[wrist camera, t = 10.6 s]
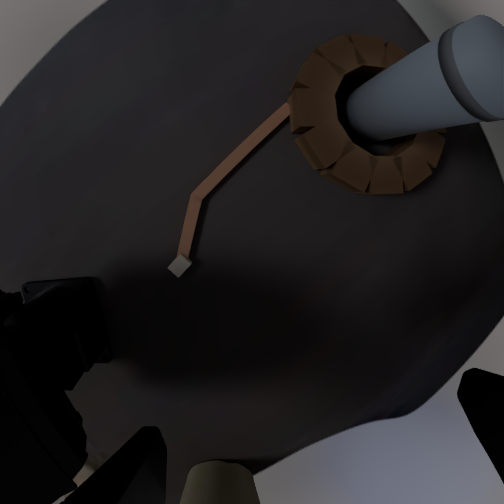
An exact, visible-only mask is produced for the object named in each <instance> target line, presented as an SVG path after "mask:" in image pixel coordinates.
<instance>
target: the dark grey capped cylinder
mask: <svg viewBox="0 0 504 504" xmlns="http://www.w3.org/2000/svg"><path fill="white" fill-rule="evenodd" d="M338 116H339V121H340V124H341V126H342V127H343V129H344V130H345V132H346V133H347V135H348V136H349V137H351V138H352V139H353V140H355V141H357V142H360V143H366V144H368V143H374V142H378V141H383V140H387V139H392V138H396V137H401V136H406V135H410V134H415V133H420V132H425V131H430V130H435V129H441V128H446V127H452V126H457V125H463V124H469V123H476V122H482V121H485V122H491V121H499V120H504V27H503V26H502V25H501V24H500V23H498V22H497V21H495V20H494V19H492V18H490V17H488V16H484V15H477V16H475V17H473V18H471V19H469V20H468V21H466V22H461V23H459V24H457V25H455V26H453V27H452V28H450V29H448V30H447V31H445V32H444V33H443V34H442V35H441V36H439V37H437V38H436V39H434V40H432V41H430V42H429V43H427V44H425V45H424V46H422V47H420V48H419V49H417V50H415V51H414V52H412V53H411V54H409V55H407V56H406V57H404V58H403V59H401V60H399V61H398V62H396V63H395V64H393V65H391V66H390V67H388V68H387V69H385V70H384V71H382V72H381V73H379V74H378V75H376V76H375V77H373V78H372V79H370V80H369V81H367V82H366V83H364V84H363V85H361V86H360V87H358V88H357V89H355V90H354V91H352V92H351V93H349V94H348V95H346V96H345V97H344V98H343V100H342V101H341V103H340V105H339V110H338Z"/></svg>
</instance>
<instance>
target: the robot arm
mask: <svg viewBox="0 0 504 504" xmlns="http://www.w3.org/2000/svg"><path fill="white" fill-rule="evenodd" d="M84 282H85V283H87V284H88V288H87V287H85V285H84ZM27 288H28V289H29V291H28V290H27ZM22 292H23V296H24V299H25V303H24V304H23V298H22V295H21V292H20V291H19V292H15V293H12V294H11V292H10V293H5V292H3V291H2V290H0V504H52V503H53V502H55V501H56V500H57V499H59V498H60V497H61V496H63V495H65V494H67V493H69V492H71V491H73V490H75V489H76V488H77V484H76V483H75V482H74V481H73V480H72V479H74V477H75V476H76V475H77V474H78V472H79V471H80V470H81V469H82V467H83V466H84V464H85V461H86V459H87V457H88V453H87V452H86V451H85V450H86V439H87V436H86V434H85V431H84V429H83V427H82V421H83V419H82V417H81V415H80V414H79V412H78V411H76V410H75V408H74V407H73V405H72V403H71V402H70V400H69V398H68V397H67V395H66V393H65V391H64V390H70V391H71V390H73V388H74V387H75V385H76V384H77V382H78V381H79V379H80V378H81V376H82V375H83V373H84V372H88V371H89V370H90V369H91V367H92V366H93V364H94V363H109V362H110V361H111V360H112V357H113V356H112V352H111V349H110V345H109V341H110V339H109V335H108V332H107V328H106V324H105V321H104V317H103V313H102V309H101V308H100V307H99V305H98V301H97V297H96V292H95V288H94V284H93V281H92V280H91V279H90V278H88V277H82V278H70V279H59V280H47V281H35V282H27V283H25V284H23V286H22ZM104 355H106V356H107V357H108V358H106V357H105V356H104ZM457 396H458V399H459V401H460V403H461V405H462V407H463V409H464V412H465V414H466V416H467V418H468V420H469V422H470V424H471V426H472V428H473V430H474V432H475V434H476V436H477V438H478V439H479V441H480V443H481V444H482V446H483V448H484V449H485V451H486V453H487V454H488V456H489V458H490V460H491V461H492V463H493V465H494V467H495V469H496V470H497V472H498V474H499V476H500V477H501V480H502V481H503V483H504V376H501V375H498V374H494V373H491V372H488V371H484V370H481V369H478V368H472V369H469V370H467V371H465V372H464V373H463V375H462V378H461V381H460V385H459V388H458V391H457ZM166 469H167V448H166V444H165V442H164V439H163V437H162V434H161V432H160V430H159V428H158V427H155V426H144V427H142V428H141V429H140V430H139V431H138V432H137V433H136V434H135V435H134V436H133V437H131V438H130V439H129V440H128V441H127V442H126V443H125V444H124V445H123V446H122V447H121V448H120V449H119V450H118V451H117V452H116V453H115V454H114V455H113V456H112V457H110V458H109V459H108V460H107V461H106V462H105V463H104V464H103V465H102V466H101V467H100V468H99V469H98V470H97V471H95V472H94V473H93V474H92V475H91V476H90V477H89V478H88V479H87V480H86V481H85V482H83V483H82V484H81V485H80V486H79V487H78V488H77V489H76V490H75V491H73V492H72V493H71V494H70V495H69V496H68V497H67V498H65V500H64V501H62V502H61V503H60V504H165V499H166Z"/></svg>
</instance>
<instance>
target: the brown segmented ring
mask: <svg viewBox="0 0 504 504" xmlns="http://www.w3.org/2000/svg"><path fill="white" fill-rule="evenodd" d="M407 55H409V54H408V53H407V52H405V51H404V50H403V49H401V48H400V47H398V46H397V45H395V44H394V43H392V42H391V41H388V42H387V43H386V44H384V40H383V38H380V37H374V36H367V35H360V34H352V33H351V34H350V35H349V36H348V38H347V36H346V35H345V34H344V35H342V36H340V37H337V38H335V39H333V40H331V41H329V42H327V43H324V44H322V45H320V46H318V47H317V48H316V49H315V50H314V52H311V54H310V55H309V57H308V58H307V60H306V61H305V63H304V64H303V66H302V68H301V70H300V72H299V74H298V75H297V77H296V79H295V81H294V83H293V85H292V87H291V89H290V91H289V93H290V94H291V95H290V97H289V98H288V99H287V101H288V104H289V106H290V115H289V119H290V129H291V133H304V134H302V135H301V136H299V137H298V138H296V139H295V140H294V142H295V143H296V145H297V146H298V148H299V149H300V150H301V152H302V153H303V155H304V156H305V158H306V159H307V161H308V162H309V164H310V165H311V167H312V168H313V170H317V169H322V170H321V172H320V174H319V175H320V176H322V177H324V178H326V179H328V180H329V181H331V182H333V183H335V184H337V185H339V186H340V187H342V188H344V189H346V190H348V191H353V192H355V193H363V194H371V195H373V194H399V193H403V191H410V190H411V189H413V188H414V187H415V186H417V185H418V184H419V183H420V182H422V181H423V180H424V179H426V178H427V177H428V176H429V175H431V174H432V171H431V169H430V168H436V166H437V164H438V161H439V158H440V155H441V153H442V150H443V147H444V144H445V141H446V139H445V138H443V137H442V136H441V135H440V134H443V133H446V128H441V129H435V130H430V131H425V132H420V133H415V134H410V135H406V136H401V137H398V138H397V140H396V143H395V145H394V148H392V149H391V150H389V151H388V152H386V153H385V154H384V155H382V156H374V155H372V154H370V153H369V152H367V151H365V150H364V149H362V148H361V147H359V146H357V145H356V144H354V143H352V141H351V139H350V138H349V136H348V135H347V133H346V132H345V130H344V129H343V127H342V126H341V124H340V122H339V121H338V117H337V108H336V100H335V93H336V91H337V89H338V87H339V85H340V82H341V80H343V79H345V78H347V77H357V78H368V79H372V78H373V77H375V76H376V75H378V74H379V73H381V72H382V71H384V70H385V69H387V68H388V67H390V66H391V65H393V64H395V63H396V62H398V61H399V60H401V59H403V58H404V57H406V56H407Z"/></svg>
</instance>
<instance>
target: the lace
mask: <svg viewBox="0 0 504 504" xmlns="http://www.w3.org/2000/svg"><path fill="white" fill-rule="evenodd" d="M289 115H290V106H289V104H288V103H287V102H286V103H285V104H284V105H282V106H281V107H280V108H279V109H278V110H277V111H276V112H275V113H274V114H272V115H271V116H270V117H269V118H268V119H267V120H266V121H265V122H264V123H263V124H261V125H260V126H259V127H258V128H257V129H256V130H255V131H254V132H253V133H252V134H251V135H250V136H249V137H248V138H247V139H246V140H244V141H243V142H242V143H241V144H240V145H239V146H238V147H237V148H236V149H235V150H234V151H233V152H232V153H231V154H230V155H229V156H228V157H227V158H226V159H225V160H224V161H223V162H222V163H221V164H220V165H219V166H218V167H217V168H216V169H215V170H214V171H213V172H212V173H211V174H210V175H209V176H208V177H207V178H206V179H205V180H204V181H203V182H202V183H201V184H200V185H199V186H198V187H197V188H196V189H195V190H194V192H193V193H192V194H191V196H190V201H189V205H188V209H187V213H186V217H185V221H184V226H183V230H182V235H181V239H180V244H179V248H178V253H177V257H176V259H175V260H174V261H173V262H172V263H171V264H170V265H169V267H168V269H169V270H170V271H171V272H173V273H174V274H175V275H176V276H177V277H178V278H179V277H180V276H181V275H182V273H183V272H184V271H185V270H186V269H187V268H188V267H189V266H190V265H191V264H192V261H191V260H190V259H189V253H190V249H191V245H192V240H193V236H194V232H195V228H196V223H197V219H198V215H199V211H200V207H201V203H202V199H203V198H204V197H205V196H206V195H207V194H208V193H209V192H210V191H211V190H212V189H213V188H214V187H215V186H216V185H217V184H218V183H219V182H220V181H221V180H222V179H223V178H224V177H225V176H226V175H227V174H228V173H229V172H230V171H231V170H232V169H233V168H234V167H235V166H236V165H237V164H238V163H239V162H240V161H241V160H242V159H243V158H244V157H245V156H246V155H247V154H248V153H249V152H250V151H251V150H252V149H253V148H254V147H256V146H257V145H258V144H259V143H260V142H261V141H262V140H263V139H264V138H265V137H266V136H267V135H268V134H269V133H270V132H271V131H272V130H274V129H275V128H276V127H277V126H278V125H279V124H280V123H281V122H282V121H283V120H284V119H286V118H287V117H288V116H289Z"/></svg>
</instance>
